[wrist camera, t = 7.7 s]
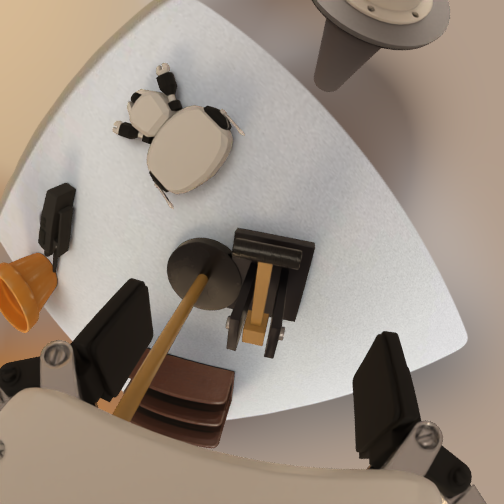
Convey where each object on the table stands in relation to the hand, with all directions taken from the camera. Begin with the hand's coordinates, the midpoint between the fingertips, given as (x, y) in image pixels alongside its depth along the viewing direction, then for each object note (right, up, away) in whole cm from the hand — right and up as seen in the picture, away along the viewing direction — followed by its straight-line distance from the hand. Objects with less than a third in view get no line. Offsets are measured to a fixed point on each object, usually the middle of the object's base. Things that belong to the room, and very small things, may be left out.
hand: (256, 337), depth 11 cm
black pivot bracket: (+2, 0, +28) cm, 28 cm away
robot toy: (-9, +18, +21) cm, 29 cm away
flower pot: (-45, -1, +38) cm, 59 cm away
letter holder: (-13, -21, +42) cm, 48 cm away
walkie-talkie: (-32, +4, +30) cm, 44 cm away
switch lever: (+1, 0, +15) cm, 15 cm away
